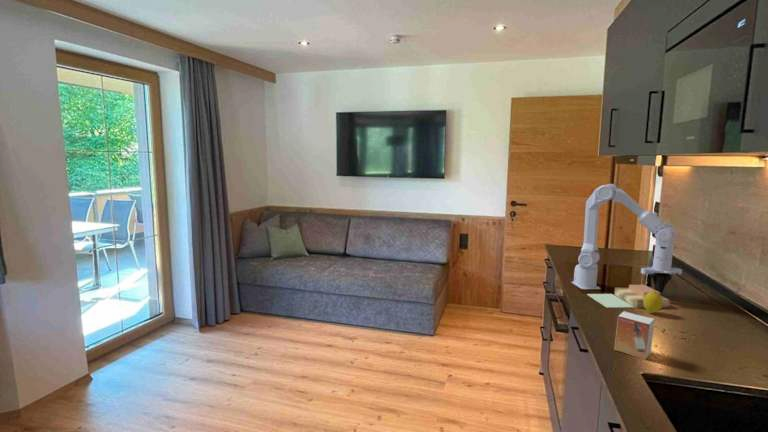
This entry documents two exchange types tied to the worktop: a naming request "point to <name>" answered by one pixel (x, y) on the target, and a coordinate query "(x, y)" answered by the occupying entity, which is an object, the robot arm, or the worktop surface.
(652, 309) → the lemon
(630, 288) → the tile
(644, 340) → the small box
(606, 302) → the mat
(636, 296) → the tan tray
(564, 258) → the worktop surface
